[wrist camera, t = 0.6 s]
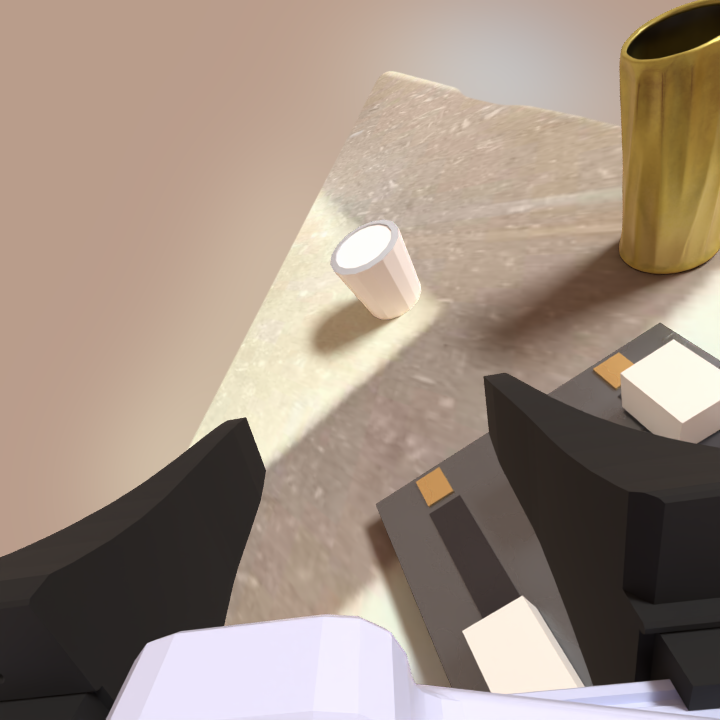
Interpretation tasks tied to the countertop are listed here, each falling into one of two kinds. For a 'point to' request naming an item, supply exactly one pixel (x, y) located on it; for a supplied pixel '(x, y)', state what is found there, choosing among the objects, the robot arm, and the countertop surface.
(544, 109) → the countertop surface
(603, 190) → the countertop surface
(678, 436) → the switch
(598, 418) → the robot arm
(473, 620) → the console
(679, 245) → the vase
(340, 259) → the white cup
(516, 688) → the switch
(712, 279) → the countertop surface
